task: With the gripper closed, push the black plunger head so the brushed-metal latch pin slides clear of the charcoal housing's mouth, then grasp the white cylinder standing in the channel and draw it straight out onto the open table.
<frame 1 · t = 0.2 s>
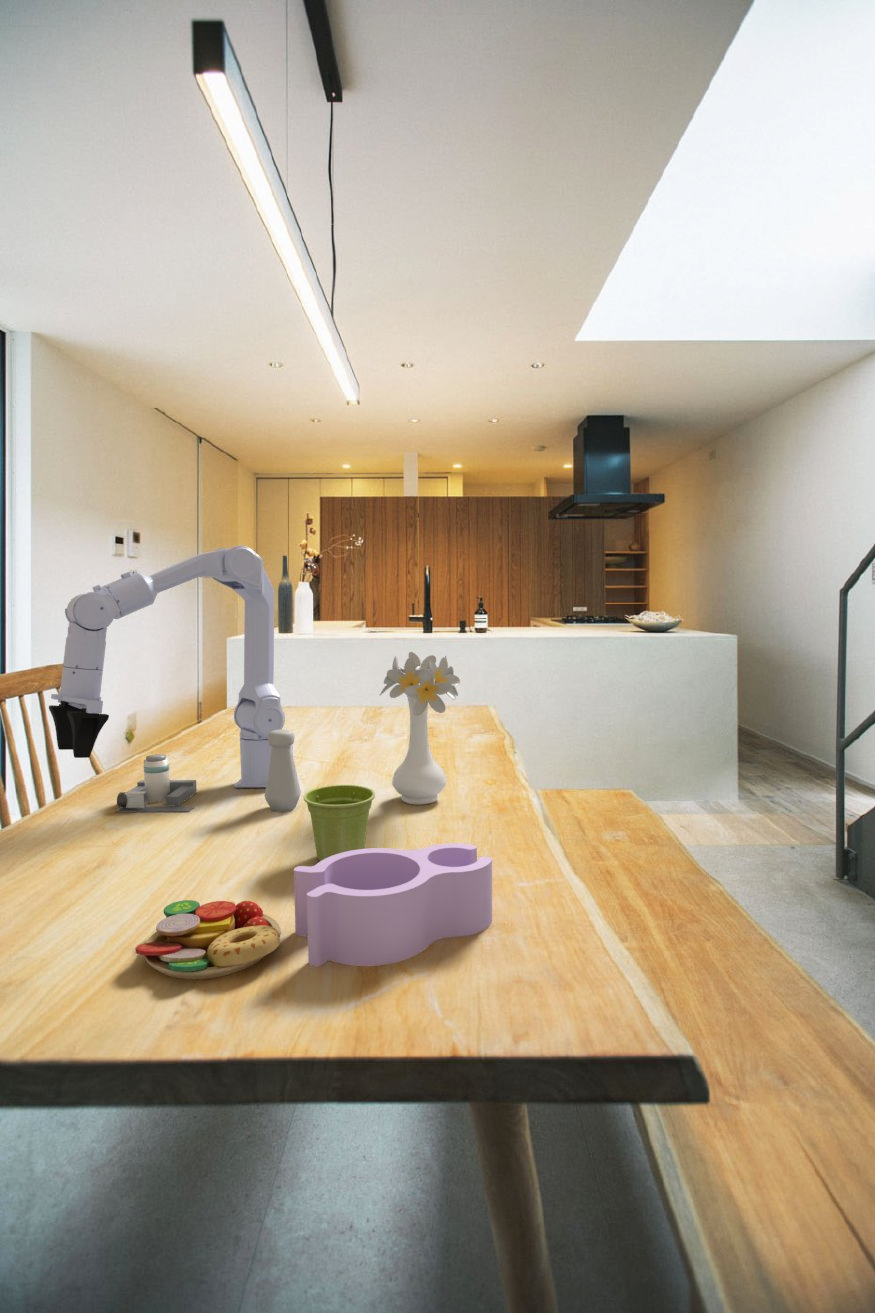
hand: (73, 753, 110), 10 cm above the table, tool pointing down, fingers open, 7 cm apart
housing: (157, 800, 119), on the table
toy food set: (212, 953, 68), on the table
flower vase: (423, 801, 118), on the table
white cylinder: (157, 799, 120), resting in housing
clip: (397, 932, 72), on the table
salt shaker: (283, 809, 114), on the table
latch pin: (132, 799, 114), point 2 cm above the table, slide at 0.0 cm
plant pot: (341, 859, 92), on the table
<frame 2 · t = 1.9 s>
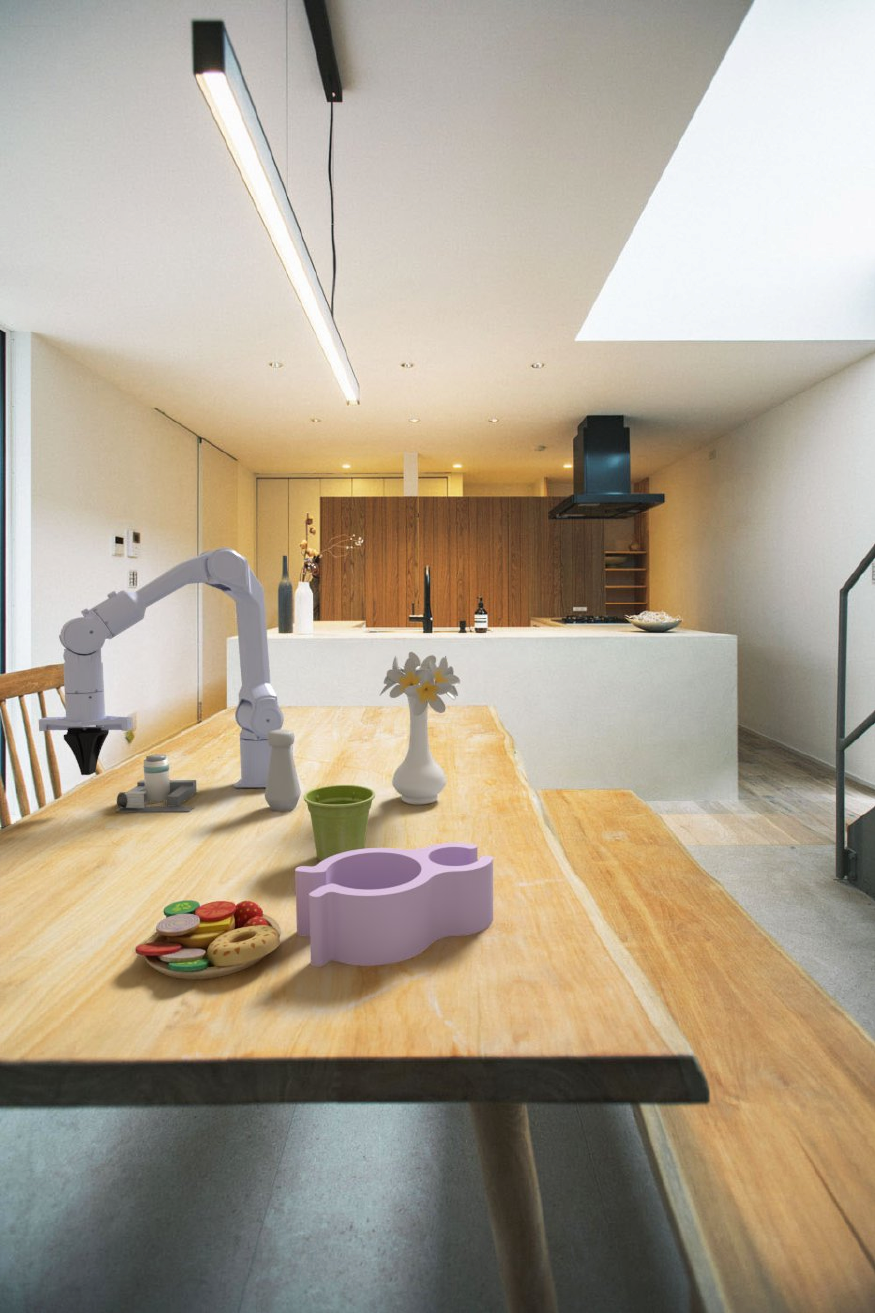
hand: (88, 773, 114), 6 cm above the table, tool pointing down, fingers closed
nothing on the table moved.
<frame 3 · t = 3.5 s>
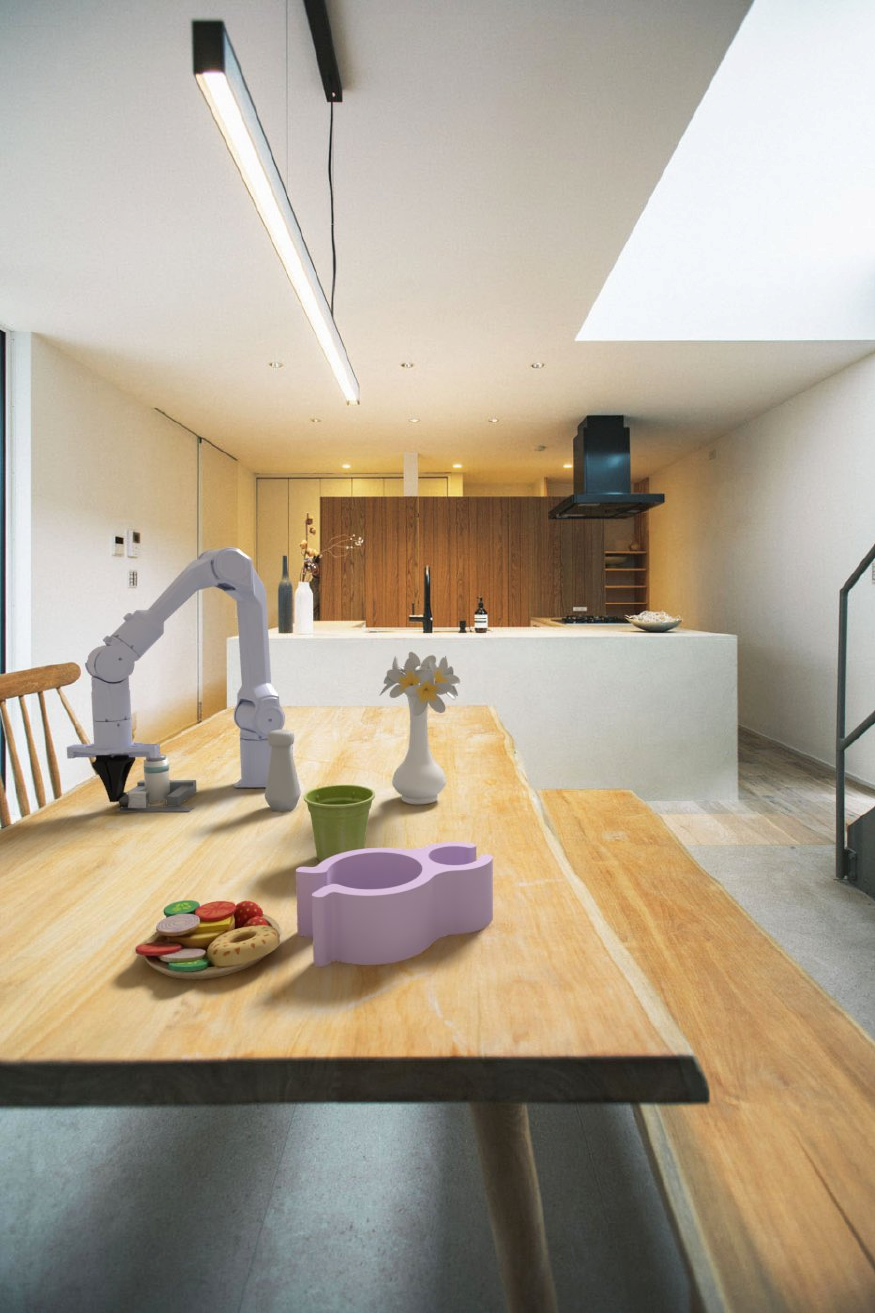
hand: (116, 800, 114), 2 cm above the table, tool pointing down, fingers closed
latch pin: (134, 799, 114), point 2 cm above the table, slide at 0.3 cm, touching gripper
everything else where it was.
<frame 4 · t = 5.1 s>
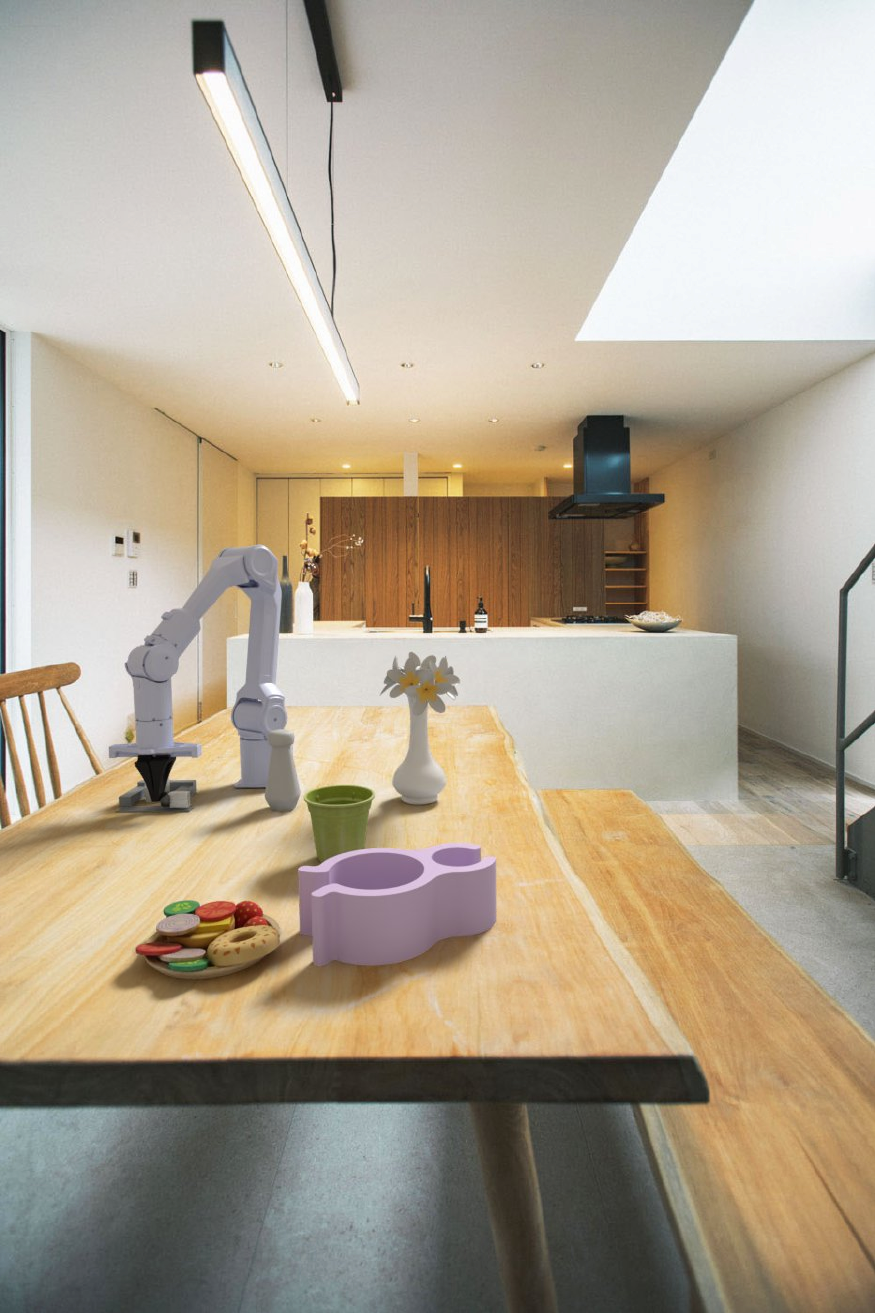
hand: (157, 800, 114), 2 cm above the table, tool pointing down, fingers closed
latch pin: (176, 799, 114), point 2 cm above the table, slide at 7.2 cm, touching gripper
everything else where it was.
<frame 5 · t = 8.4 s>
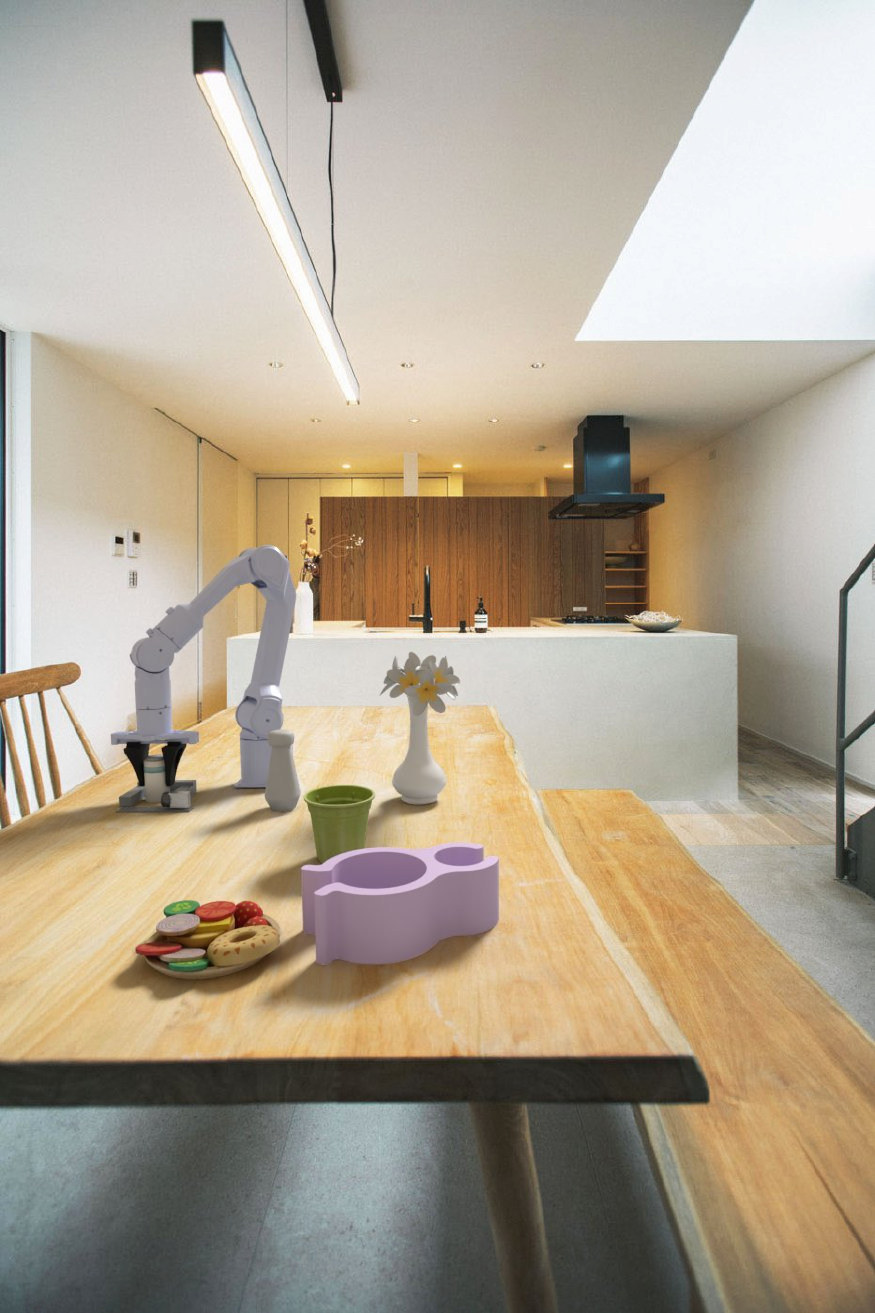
hand: (157, 784, 120), 3 cm above the table, tool pointing down, fingers closed on white cylinder, 4 cm apart
white cylinder: (157, 799, 120), resting in housing, touching gripper
latch pin: (176, 799, 114), point 2 cm above the table, slide at 7.2 cm
everything else where it was.
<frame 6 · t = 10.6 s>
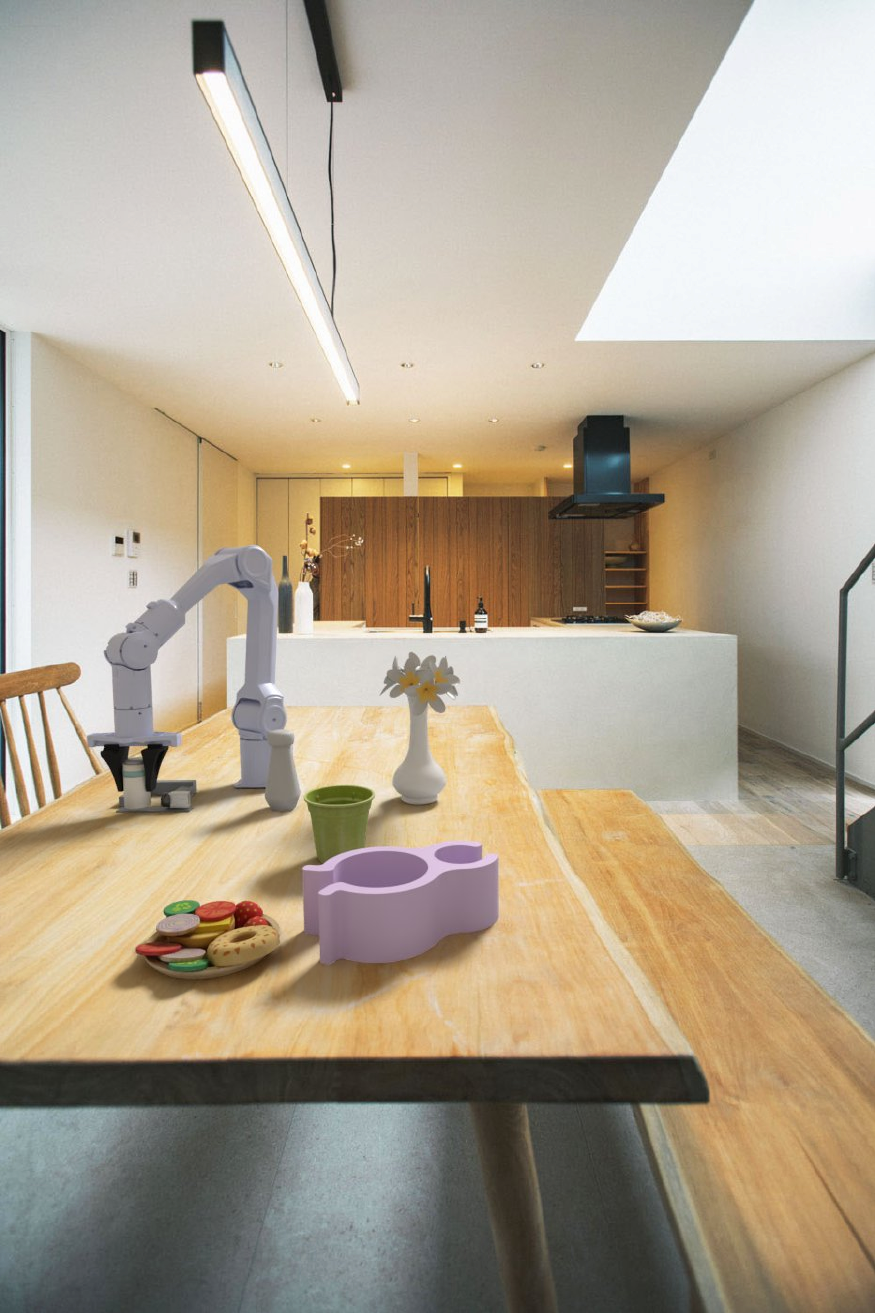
hand: (136, 790, 112), 4 cm above the table, tool pointing down, fingers closed on white cylinder, 4 cm apart
white cylinder: (137, 805, 112), point 1 cm above the table, touching gripper
everything else where it was.
when the fingers open (3 cm above the table, at t = 11.9 s): white cylinder stays where it is, on the table.
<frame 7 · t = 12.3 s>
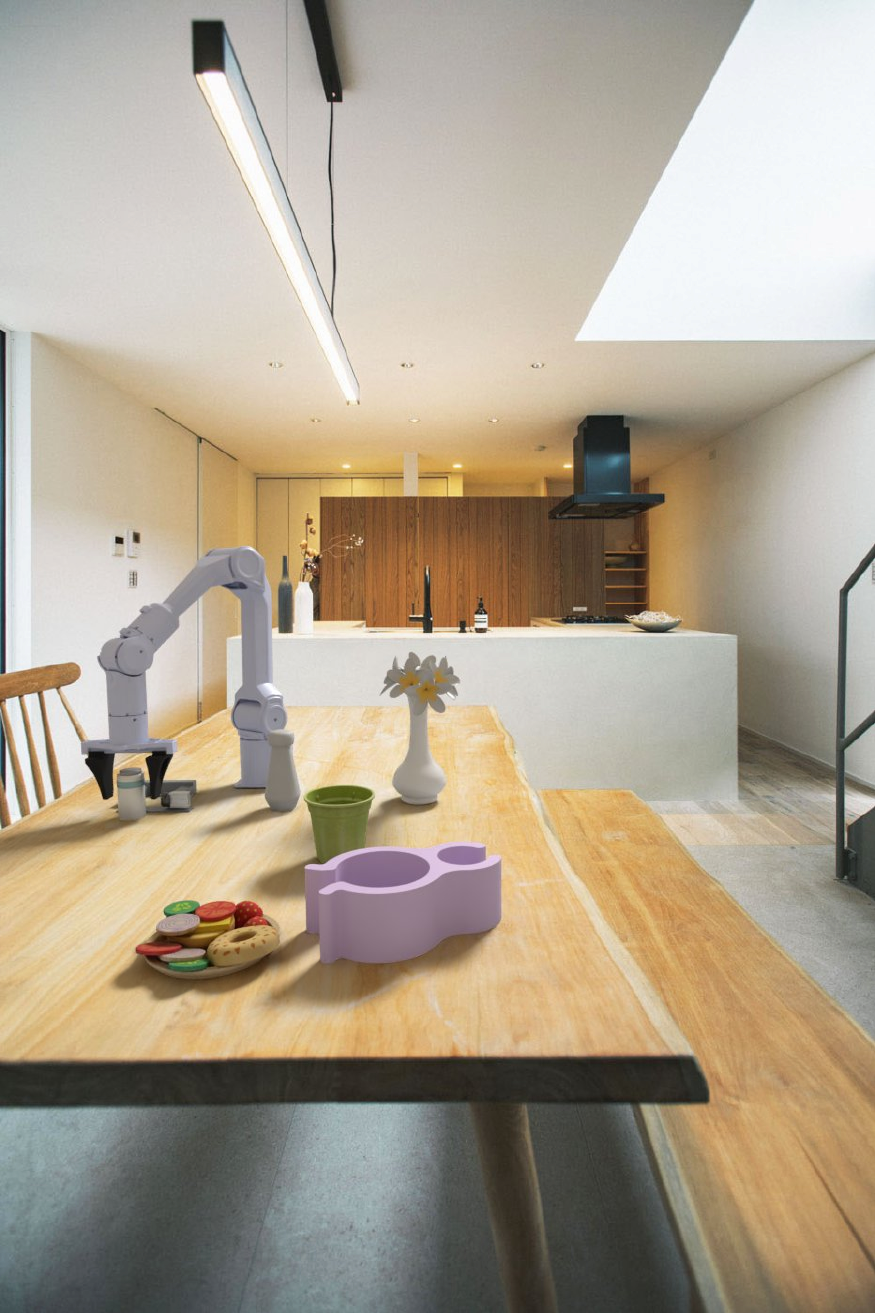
hand: (131, 797, 110), 3 cm above the table, tool pointing down, fingers open, 7 cm apart
white cylinder: (132, 816, 110), on the table
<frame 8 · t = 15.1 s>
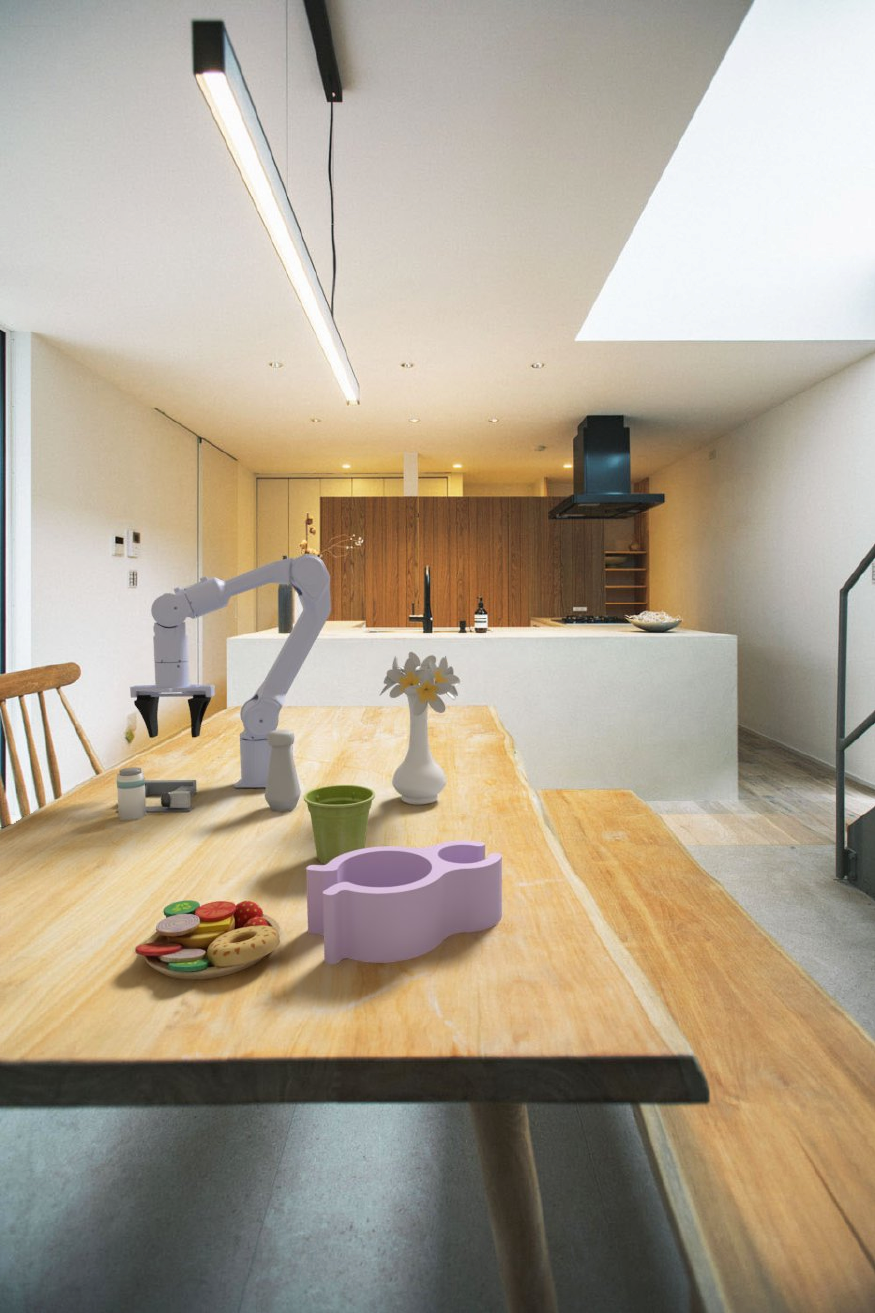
hand: (174, 736, 125), 10 cm above the table, tool pointing down, fingers open, 7 cm apart
at the end: latch pin slide at 7.2 cm; white cylinder inside the target area (1.0 cm from its centre), on the table; white cylinder tilted 0° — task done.
